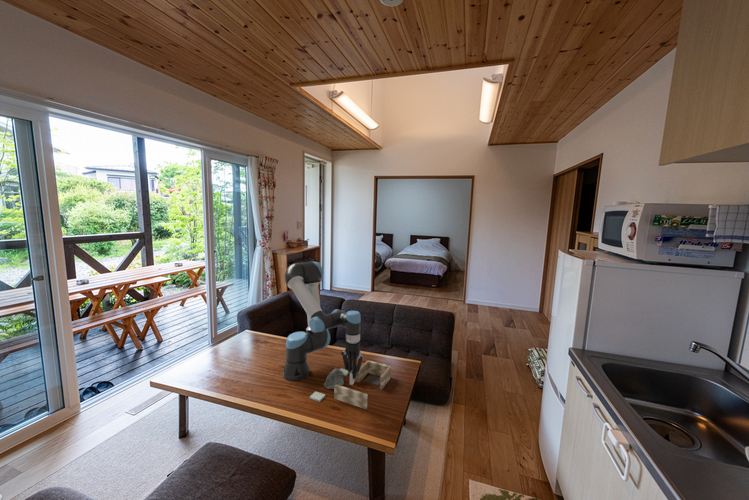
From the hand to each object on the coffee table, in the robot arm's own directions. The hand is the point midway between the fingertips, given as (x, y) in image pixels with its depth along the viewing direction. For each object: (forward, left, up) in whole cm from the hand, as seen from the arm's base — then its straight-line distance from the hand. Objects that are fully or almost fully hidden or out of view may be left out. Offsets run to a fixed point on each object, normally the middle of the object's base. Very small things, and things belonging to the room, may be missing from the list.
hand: (351, 383), depth 152 cm
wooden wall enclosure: (+5, +6, -4) cm, 9 cm away
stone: (-10, 0, -5) cm, 11 cm away
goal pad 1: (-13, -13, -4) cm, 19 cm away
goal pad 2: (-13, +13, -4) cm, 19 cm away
